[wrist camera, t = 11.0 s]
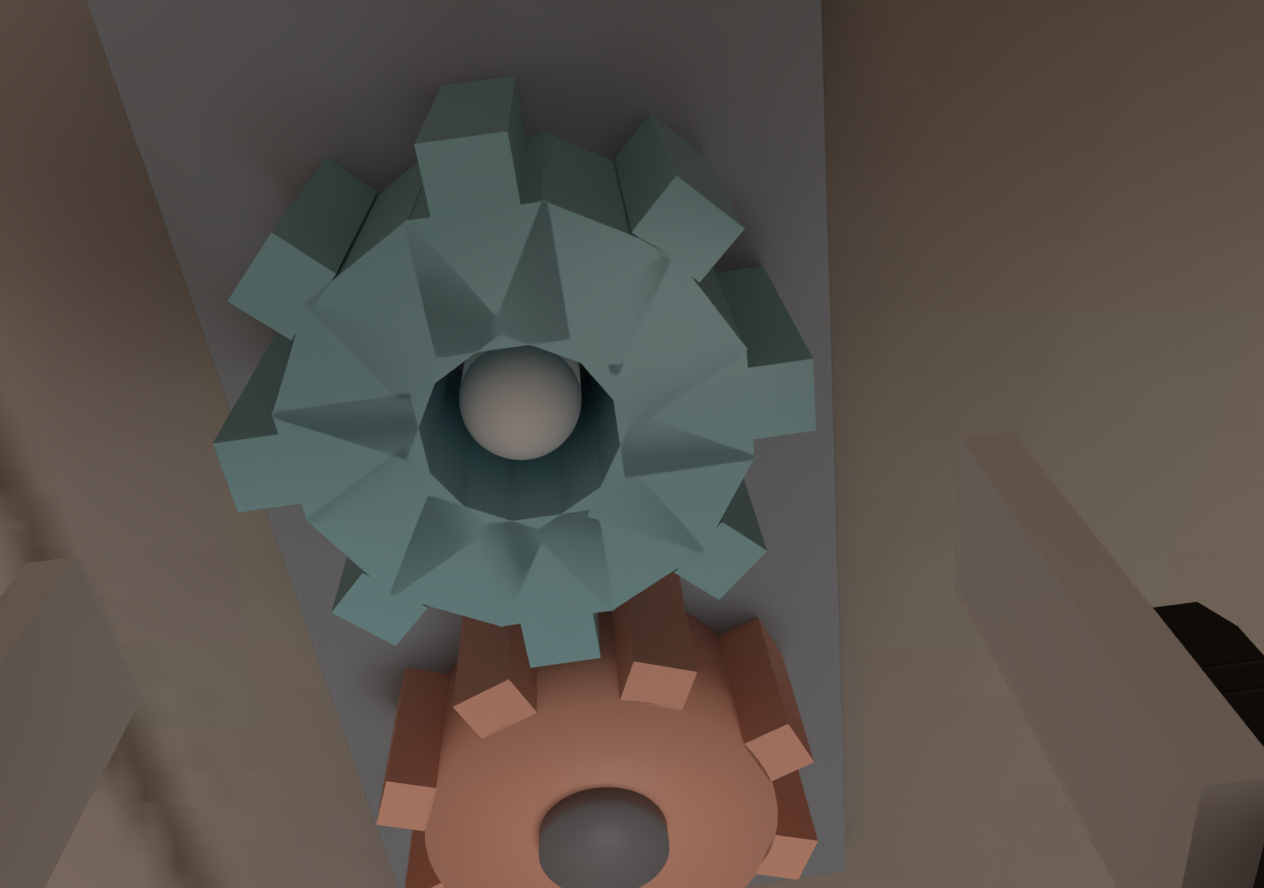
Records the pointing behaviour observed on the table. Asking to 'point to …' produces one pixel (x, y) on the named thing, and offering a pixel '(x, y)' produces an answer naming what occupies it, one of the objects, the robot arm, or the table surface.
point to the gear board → (587, 93)
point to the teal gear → (503, 318)
